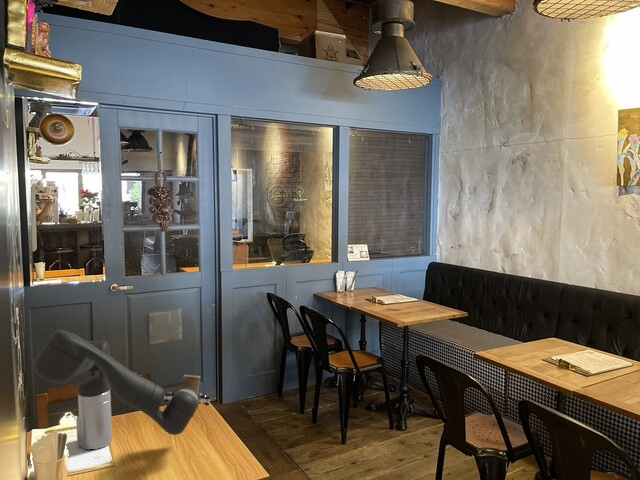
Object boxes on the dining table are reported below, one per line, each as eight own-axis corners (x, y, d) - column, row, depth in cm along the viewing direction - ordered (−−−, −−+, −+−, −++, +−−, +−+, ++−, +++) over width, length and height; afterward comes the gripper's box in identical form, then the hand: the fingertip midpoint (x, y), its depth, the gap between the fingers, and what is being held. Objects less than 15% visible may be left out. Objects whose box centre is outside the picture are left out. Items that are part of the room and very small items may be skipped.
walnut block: (184, 374, 157) (178, 413, 155) (183, 376, 153) (177, 415, 150) (200, 376, 158) (194, 414, 156) (199, 377, 153) (193, 417, 151)
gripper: (157, 414, 138) (164, 404, 155) (208, 418, 140) (210, 408, 157) (161, 387, 139) (168, 380, 156) (211, 391, 142) (213, 384, 158)
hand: (189, 394), depth 156 cm, fingers closed on walnut block, 5 cm apart
